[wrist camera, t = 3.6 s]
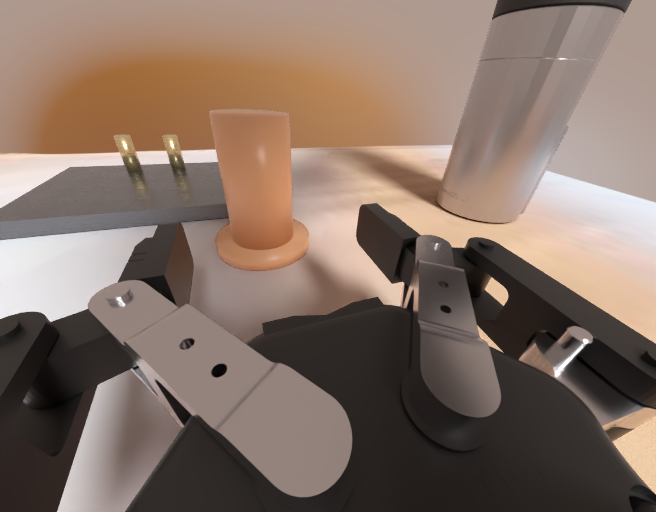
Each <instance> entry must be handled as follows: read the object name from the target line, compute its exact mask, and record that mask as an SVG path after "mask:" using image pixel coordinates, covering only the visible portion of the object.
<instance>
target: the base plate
mask: <svg viewBox="0 0 656 512" xmlns="http://www.w3.org/2000/svg"><path fill="white" fill-rule="evenodd" d="M162 136H163V141H164V144H165V147H166V151H167V154H168V158H169V161H170V164H153V165H140V162H139V159H138V157H137V154H136V151H135V148H134V146H133V143H132V140H131V138H130V135H114V139H115V142H116V144H117V147H118V149H119V152H120V154H121V157H122V159H123V162H124V165H123V166H93V167H70V168H68V169H66V170H65V171H63V172H61V173H59V174H58V175H56V176H54V177H53V178H51V179H49V180H48V181H46V182H44V183H43V184H41V185H39V186H38V187H36V188H34V189H33V190H31V191H29V192H27V193H26V194H24V195H22V196H21V197H19V198H17V199H16V200H14V201H12V202H11V203H9V204H7V205H6V206H4V207H2V208H1V209H0V240H1V239H12V238H22V237H32V236H43V235H53V234H63V233H74V232H84V231H94V230H105V229H115V228H125V227H136V226H146V225H156V224H167V223H177V222H187V221H198V220H208V219H218V218H229V215H228V210H227V205H226V200H225V194H224V189H223V184H222V179H221V173H220V168H219V163H218V162H212V163H184V161H183V157H182V153H181V150H180V146H179V142H178V138H177V135H162Z"/></svg>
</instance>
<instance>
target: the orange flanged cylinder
mask: <svg viewBox="0 0 656 512" xmlns="http://www.w3.org/2000/svg"><path fill="white" fill-rule="evenodd" d="M209 116H210V121H211V125H212V131H213V136H214V142H215V147H216V152H217V158H218V163H219V168H220V173H221V179H222V184H223V189H224V194H225V200H226V205H227V210H228V215H229V221H230V223H229V224H228V225H226V226H225V227H223V228H222V229H221V230H220V231H219V232H218V234H217V236H216V245H217V249H218V253H219V256H220V257H221V259H222V260H223V261H224V262H225V263H227V264H229V265H231V266H233V267H236V268H239V269H244V270H251V271H264V270H272V269H277V268H281V267H285V266H287V265H290V264H292V263H294V262H296V261H297V260H299V259H300V258H301V257H302V256H303V255H304V254H305V253H306V251H307V249H308V243H309V234H308V230H307V228H306V227H305V226H304V225H303V224H302V223H300V222H299V221H297V220H295V219H293V206H292V174H291V147H290V146H291V145H290V114H288V113H285V112H279V111H270V110H255V109H221V110H212V111H209Z"/></svg>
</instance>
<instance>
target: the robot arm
mask: <svg viewBox="0 0 656 512" xmlns="http://www.w3.org/2000/svg"><path fill="white" fill-rule="evenodd" d="M631 1H632V0H498V1H497V4H496V8H495V11H494V14H493V18H492V21H491V24H490V27H489V31H488V34H487V37H486V41H485V44H484V47H483V50H482V53H481V56H480V60H479V63H478V66H477V70H476V73H475V76H474V79H473V83H472V86H471V89H470V93H469V96H468V99H467V102H466V106H465V108H464V112H463V115H462V118H461V121H460V125H459V128H458V132H457V134H456V138H455V141H454V144H453V147H452V151H451V154H450V157H449V160H448V163H447V167H446V170H445V173H444V176H443V179H442V183H441V186H440V189H439V192H438V196H437V202H438V204H439V205H440V206H441V207H443V208H444V209H446V210H448V211H450V212H452V213H454V214H457V215H459V216H462V217H466V218H469V219H473V220H478V221H484V222H493V223H506V222H512V221H514V220H516V219H517V218H518V216H519V214H520V213H524V211H525V209H526V207H527V205H528V203H529V201H530V199H531V198H532V196H533V194H534V192H535V190H536V188H537V186H538V184H539V182H540V181H541V179H542V177H543V175H544V173H545V171H546V169H547V167H548V166H549V164H550V162H551V160H552V158H553V156H554V154H555V152H556V151H557V149H558V147H559V145H560V143H561V141H562V139H563V137H564V135H565V133H566V132H567V129H568V126H567V123H568V121H569V119H570V117H571V115H572V113H573V111H574V109H575V107H576V106H577V104H578V102H579V100H580V98H581V96H582V94H583V92H584V90H585V88H586V86H587V84H588V82H589V80H590V79H591V77H592V75H593V73H594V71H595V69H596V67H597V65H598V63H599V61H600V59H601V57H602V55H603V53H604V51H605V50H606V48H607V46H608V44H609V42H610V40H611V38H612V36H613V34H614V32H615V30H616V29H617V27H618V25H619V23H620V21H621V19H622V17H623V15H624V13H625V12H626V10H627V8H628V7H629V4H630V3H631ZM356 237H357V241H358V244H359V245H360V246H361V247H362V249H363V250H364V251H365V252H366V253H367V255H368V256H369V257H370V258H371V259H372V260H373V262H374V263H375V264H376V265H377V266H378V268H379V269H380V270H381V271H382V272H383V274H384V275H385V276H386V277H387V278H388V279H389V281H390V282H391V283H392V284H393V283H398V282H404V284H403V288H402V295H401V305H400V307H399V306H393V305H383V303H382V302H381V300H380V299H379V298H378V297H375V298H371V299H366V300H362V301H358V302H353V303H351V304H349V305H347V306H345V307H343V308H341V309H339V310H337V311H334V312H332V313H330V314H328V315H314V316H292V317H287V318H283V319H279V320H274V321H270V322H266V323H262V325H263V332H264V333H263V334H261V335H259V336H257V337H255V338H253V339H252V340H250V341H249V342H248V343H246V344H245V343H244V342H242V341H241V340H239V339H238V338H236V337H235V336H234V335H232V334H231V333H229V332H228V331H227V330H225V329H224V328H222V327H221V326H220V325H218V324H217V323H215V322H214V321H213V320H211V319H210V318H208V317H207V316H205V315H204V314H203V313H201V312H200V311H198V310H197V309H196V308H194V307H193V306H191V305H190V304H189V299H190V291H191V284H192V276H193V259H192V255H191V251H190V248H189V245H188V242H187V239H186V235H185V232H184V229H183V226H182V224H181V223H180V222H179V223H169V224H159V225H158V227H157V229H156V231H155V234H154V236H153V237H152V238H145V239H144V240H143V241H141V242H140V243H139V244H137V245H136V246H135V248H134V250H133V252H132V256H130V258H129V260H128V262H129V263H127V264H126V266H125V269H124V271H123V273H122V275H121V277H120V279H119V281H118V283H115V284H112V285H110V286H108V287H106V288H104V289H102V290H101V291H99V292H98V293H96V294H95V295H94V296H93V297H92V298H91V299H90V301H89V303H88V309H87V310H84V311H81V312H79V313H76V314H73V315H70V316H67V317H64V318H61V319H58V320H55V321H53V322H50V321H49V320H48V319H47V317H46V316H45V315H44V314H42V313H39V312H24V313H19V314H15V315H11V316H8V317H5V318H2V319H0V512H57V510H58V507H59V504H60V500H61V497H62V494H63V491H64V488H65V485H66V482H67V479H68V476H69V472H70V469H71V466H72V463H73V460H74V457H75V454H76V451H77V448H78V444H79V441H80V438H81V435H82V432H83V429H84V426H85V423H86V419H87V416H88V413H89V410H90V407H91V404H92V401H93V398H94V395H95V391H96V388H97V385H98V384H100V383H102V382H104V381H106V380H108V379H111V378H113V377H115V376H117V375H119V374H121V373H123V372H125V371H127V370H129V369H131V371H132V372H133V373H134V374H135V375H136V376H137V377H138V378H139V379H140V380H141V381H142V382H143V384H144V385H145V386H146V387H147V388H148V389H149V390H150V391H151V392H152V393H153V394H154V395H155V396H156V398H157V399H158V400H159V401H160V402H161V403H162V404H163V405H164V406H165V408H166V409H167V410H168V411H169V413H170V414H171V415H172V417H173V418H174V419H175V420H176V421H177V423H178V424H179V425H180V426H181V427H182V430H181V431H180V433H179V434H178V436H177V437H176V439H175V440H174V441H173V443H172V444H171V446H170V447H169V449H168V450H167V452H166V453H165V455H164V456H163V457H162V459H161V460H160V462H159V463H158V465H157V466H156V468H155V469H154V470H153V472H152V473H151V475H150V476H149V478H148V479H147V481H146V482H145V484H144V485H143V486H142V488H141V489H140V491H139V492H138V494H137V495H136V497H135V498H134V500H133V501H132V502H131V504H130V505H129V507H128V508H127V510H126V511H125V512H656V494H654V493H653V491H652V490H651V489H650V488H649V487H648V486H647V485H646V484H645V483H644V481H643V480H642V479H641V478H640V477H639V476H638V475H637V473H636V472H635V471H634V470H633V469H632V467H631V466H630V465H629V464H628V462H627V461H626V460H625V459H624V457H623V456H622V455H621V453H620V452H619V451H618V449H617V448H616V447H615V445H614V444H613V442H612V441H614V440H616V439H618V438H619V437H621V436H623V435H624V434H626V433H628V432H630V431H631V430H633V429H635V428H636V427H638V426H640V425H642V424H643V423H645V422H647V421H648V420H650V419H652V418H654V417H655V416H656V344H655V343H653V342H652V341H650V340H649V339H647V338H646V337H644V336H642V335H641V334H639V333H638V332H636V331H635V330H633V329H631V328H630V327H628V326H627V325H625V324H624V323H622V322H620V321H619V320H617V319H616V318H614V317H613V316H611V315H609V314H608V313H606V312H605V311H603V310H602V309H600V308H598V307H597V306H595V305H594V304H592V303H591V302H589V301H587V300H586V299H584V298H583V297H581V296H580V295H578V294H576V293H575V292H573V291H572V290H570V289H569V288H567V287H566V286H564V285H562V284H561V283H559V282H558V281H556V280H555V279H553V278H551V277H550V276H548V275H547V274H545V273H544V272H542V271H540V270H539V269H537V268H536V267H534V266H533V265H531V264H529V263H528V262H526V261H525V260H523V259H522V258H520V257H518V256H517V255H515V254H514V253H512V252H511V251H509V250H507V249H506V248H504V247H503V246H501V245H500V244H498V243H496V242H494V241H492V240H489V239H485V238H479V237H474V238H470V239H469V240H468V242H467V244H466V246H465V248H452V247H451V245H450V243H449V242H447V241H446V240H444V239H442V238H440V237H437V236H432V235H422V236H421V235H420V234H418V233H417V232H416V231H415V230H413V229H412V228H411V227H409V226H408V225H407V224H406V223H404V222H403V221H402V220H400V219H399V218H398V217H397V216H395V215H393V214H391V213H388V212H387V211H386V210H385V209H383V208H382V207H381V206H380V205H378V204H377V203H374V204H364V205H361V207H360V209H359V217H358V224H357V232H356ZM491 277H493V278H494V279H495V280H496V281H498V282H499V283H500V284H501V285H503V286H504V287H505V288H506V289H507V291H508V295H509V298H508V300H507V302H506V304H505V305H504V306H503V305H502V304H500V303H499V302H498V301H497V300H496V299H495V298H493V297H492V296H491V295H490V294H489V293H488V292H486V291H485V290H484V289H485V287H486V286H487V284H488V282H489V280H490V278H491ZM477 325H478V326H479V327H480V328H481V329H482V330H483V331H484V332H485V333H486V335H487V336H488V337H489V338H490V339H491V340H492V341H493V342H494V343H495V344H496V345H497V346H498V347H499V348H500V349H501V350H502V351H503V352H504V353H503V352H501V351H499V350H496V349H494V348H492V347H490V346H488V344H487V342H486V341H484V340H482V339H481V338H480V336H479V332H478V328H477Z"/></svg>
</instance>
